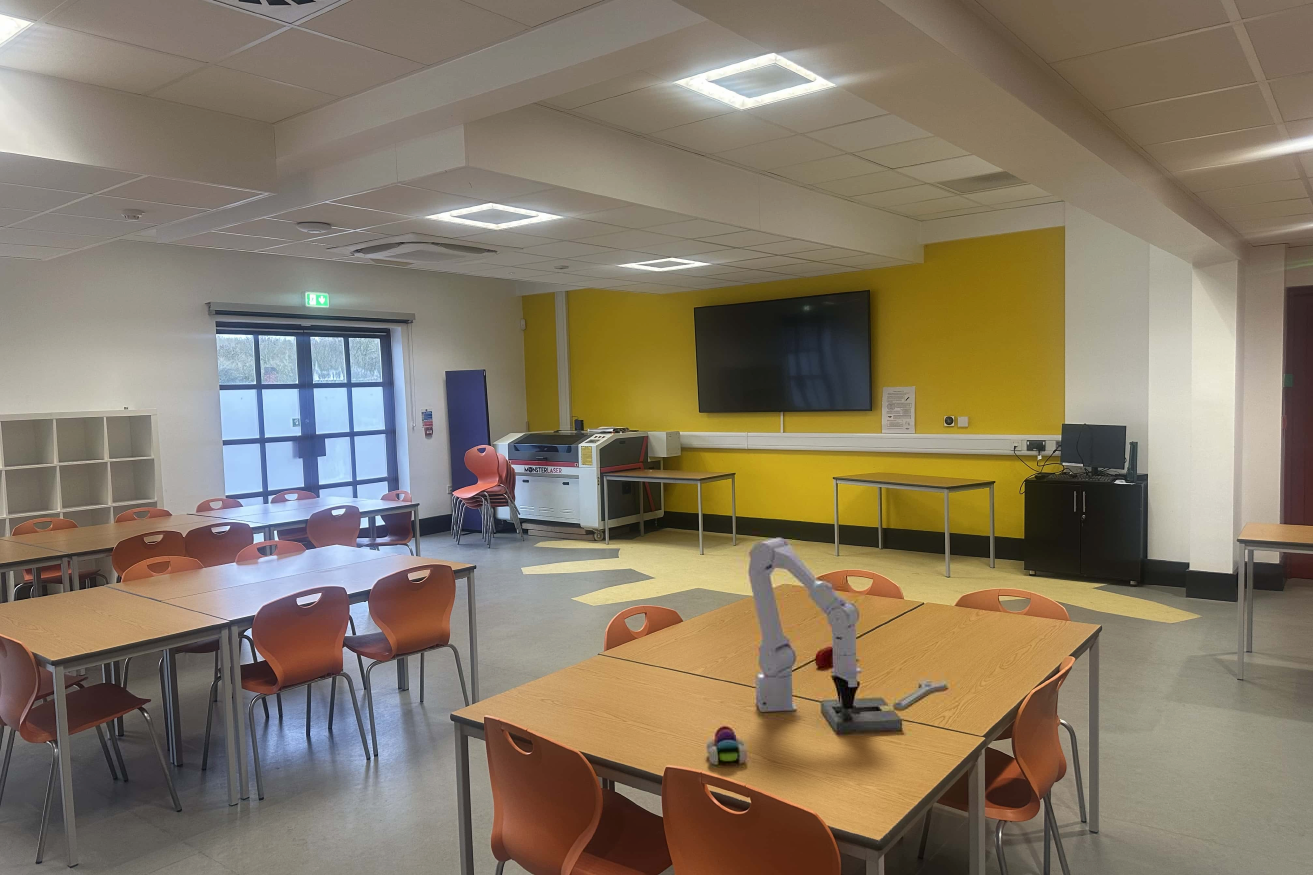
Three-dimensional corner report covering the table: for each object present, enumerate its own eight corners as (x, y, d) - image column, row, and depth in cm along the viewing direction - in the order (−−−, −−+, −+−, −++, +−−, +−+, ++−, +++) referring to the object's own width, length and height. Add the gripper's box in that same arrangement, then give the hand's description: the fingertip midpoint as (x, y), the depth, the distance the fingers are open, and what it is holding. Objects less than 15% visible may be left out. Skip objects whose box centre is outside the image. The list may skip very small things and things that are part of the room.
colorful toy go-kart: (742, 750, 199) (741, 719, 199) (748, 767, 190) (747, 735, 189) (706, 752, 199) (705, 721, 199) (710, 769, 189) (709, 737, 189)
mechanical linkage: (836, 672, 254) (835, 656, 254) (815, 668, 259) (814, 652, 259) (863, 660, 266) (862, 644, 266) (843, 656, 271) (842, 640, 271)
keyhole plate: (836, 734, 207) (836, 722, 207) (820, 710, 223) (820, 700, 223) (902, 730, 207) (902, 719, 207) (881, 707, 223) (881, 697, 223)
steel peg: (840, 723, 212) (839, 691, 212) (834, 717, 217) (834, 686, 217) (857, 722, 213) (856, 690, 213) (851, 716, 217) (851, 685, 217)
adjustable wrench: (901, 712, 221) (900, 705, 221) (879, 707, 226) (878, 700, 226) (949, 687, 238) (949, 681, 238) (928, 683, 243) (928, 676, 243)
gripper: (868, 660, 207) (870, 715, 208) (852, 643, 222) (853, 695, 222) (839, 661, 207) (841, 717, 207) (825, 645, 221) (826, 697, 222)
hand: (846, 706), depth 215 cm, fingers closed on steel peg, 3 cm apart
